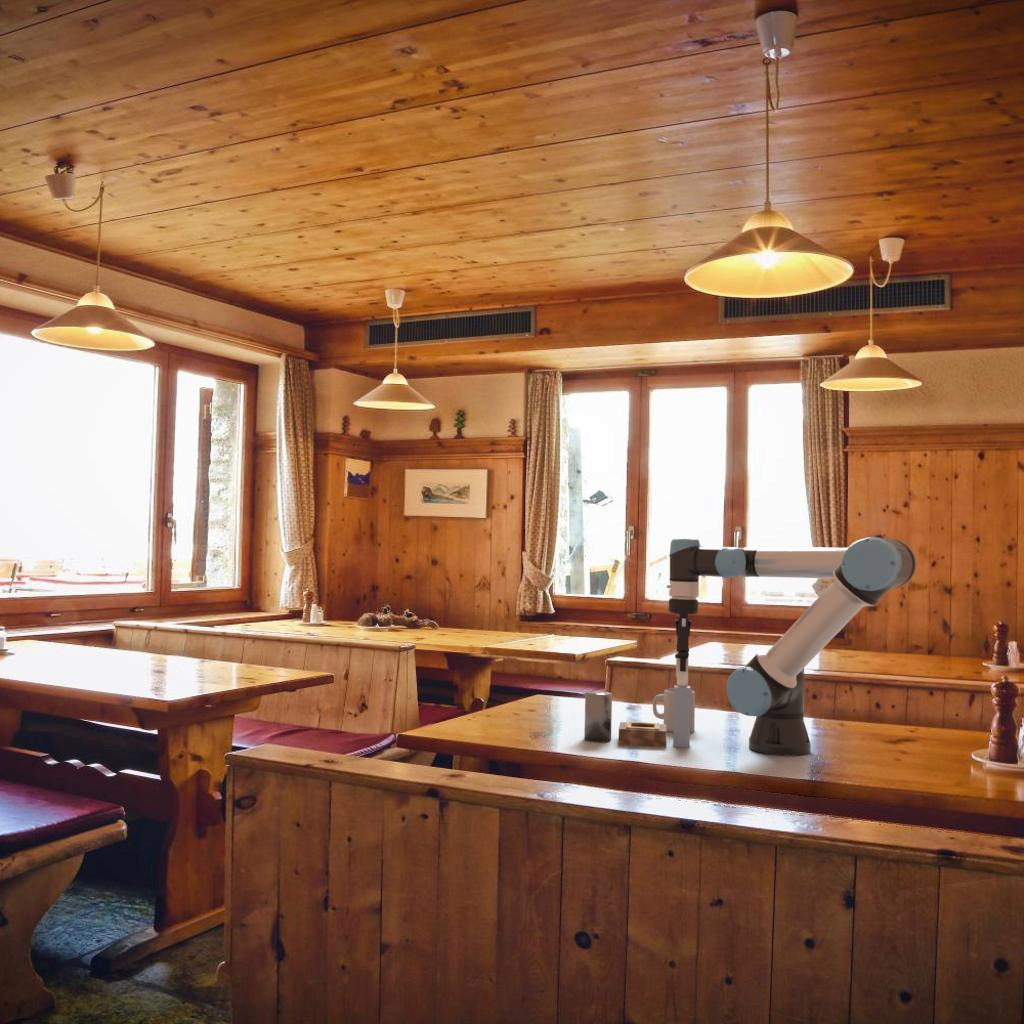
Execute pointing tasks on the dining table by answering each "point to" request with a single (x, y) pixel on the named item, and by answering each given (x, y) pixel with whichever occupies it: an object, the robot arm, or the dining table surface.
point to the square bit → (681, 716)
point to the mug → (669, 709)
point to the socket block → (642, 734)
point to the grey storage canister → (598, 716)
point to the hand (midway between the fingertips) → (681, 680)
